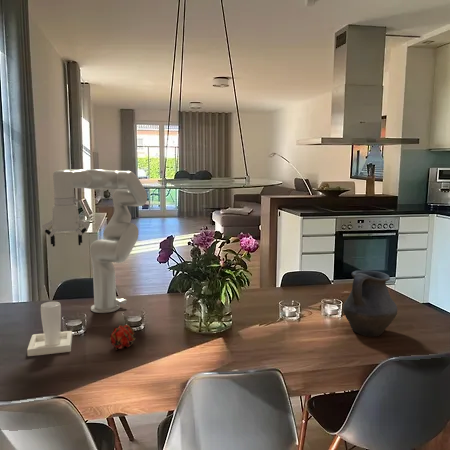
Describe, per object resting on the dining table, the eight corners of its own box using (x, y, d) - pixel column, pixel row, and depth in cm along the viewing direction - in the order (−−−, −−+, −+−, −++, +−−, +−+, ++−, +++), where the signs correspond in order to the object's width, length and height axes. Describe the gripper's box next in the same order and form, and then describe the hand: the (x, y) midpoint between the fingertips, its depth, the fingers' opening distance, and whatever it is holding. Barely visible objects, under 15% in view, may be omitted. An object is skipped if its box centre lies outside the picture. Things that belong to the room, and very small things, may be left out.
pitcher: (404, 331, 179) (408, 269, 176) (380, 348, 164) (384, 281, 160) (356, 319, 193) (359, 261, 190) (329, 333, 177) (332, 271, 174)
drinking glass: (66, 341, 168) (64, 302, 166) (54, 348, 161) (51, 308, 159) (51, 339, 170) (49, 300, 168) (38, 346, 164) (36, 306, 161)
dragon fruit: (130, 343, 171) (120, 362, 160) (112, 330, 171) (99, 348, 159) (142, 328, 169) (132, 345, 158) (123, 315, 168) (111, 331, 157)
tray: (72, 336, 174) (71, 330, 174) (70, 351, 161) (70, 345, 160) (32, 340, 170) (32, 334, 170) (27, 356, 157) (27, 349, 156)
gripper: (87, 200, 184) (89, 242, 186) (41, 201, 179) (44, 244, 181) (87, 202, 176) (89, 246, 179) (39, 203, 172) (42, 248, 174)
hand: (66, 245), depth 180 cm, fingers open, 9 cm apart
